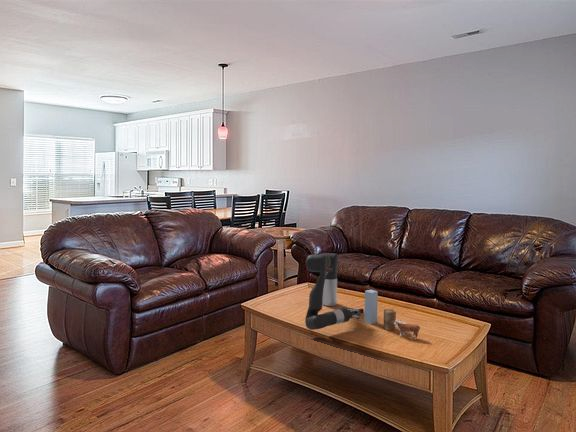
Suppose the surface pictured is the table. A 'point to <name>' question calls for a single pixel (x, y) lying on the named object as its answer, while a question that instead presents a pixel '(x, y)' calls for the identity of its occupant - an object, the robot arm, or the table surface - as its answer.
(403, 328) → the bull figurine
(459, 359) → the table surface
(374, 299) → the bluegrey block
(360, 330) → the table surface
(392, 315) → the walnut block
